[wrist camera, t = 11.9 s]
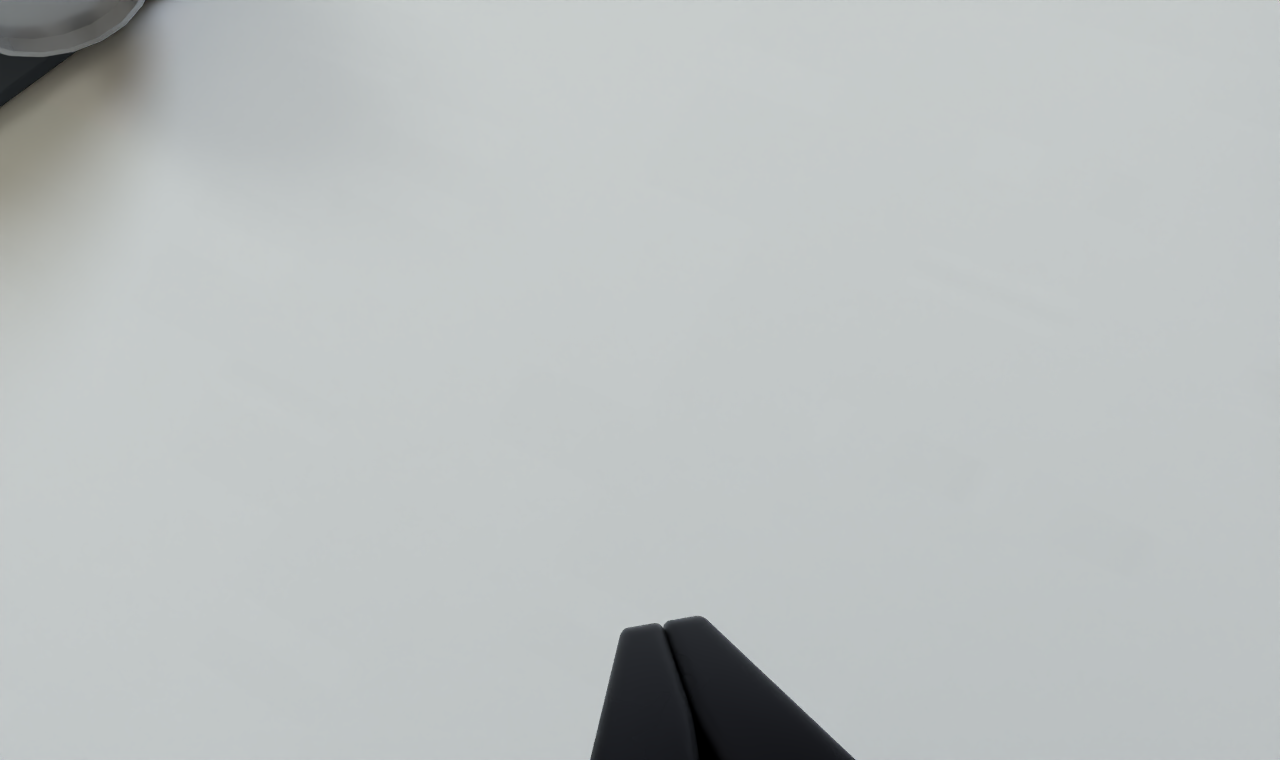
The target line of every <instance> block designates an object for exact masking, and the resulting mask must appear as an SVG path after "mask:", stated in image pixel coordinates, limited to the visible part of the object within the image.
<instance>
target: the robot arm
mask: <svg viewBox="0 0 1280 760" xmlns="http://www.w3.org/2000/svg"><path fill="white" fill-rule="evenodd" d="M590 760H855V759H854V758H853V757H852V756H851V755H850V754H849V753H848V752H847V751H846V750H844V749H843V748H842V747H841V746H840V745H839V744H838V743H837V742H836V741H835V740H834V739H833V738H832V737H831V736H830V735H829V734H828V733H826V732H825V731H824V730H823V729H822V728H821V727H820V726H819V725H818V724H817V723H816V722H815V721H814V720H813V719H812V718H811V717H809V716H808V715H807V714H806V713H805V712H804V711H803V710H802V709H801V708H800V707H799V706H798V705H797V704H796V703H795V702H794V701H793V700H791V699H790V698H789V697H788V696H787V695H786V694H785V693H784V692H783V691H782V690H781V689H780V688H779V687H778V686H777V685H776V684H774V683H773V682H772V681H771V680H770V679H769V678H768V677H767V676H766V675H765V674H764V673H763V672H762V671H761V670H760V669H759V668H758V667H756V666H755V665H754V664H753V663H752V662H751V661H750V660H749V659H748V658H747V657H746V656H745V655H744V654H743V653H742V652H741V651H740V650H738V649H737V648H736V647H735V646H734V645H733V644H732V643H731V642H730V641H729V640H728V639H727V638H726V637H725V636H724V635H723V634H721V633H720V632H719V631H718V630H717V629H716V628H715V627H714V626H713V625H712V624H711V623H710V622H709V621H708V620H707V619H705V618H703V617H701V616H694V617H688V618H682V619H676V620H670V621H667V622H666V623H665V624H664V627H663V628H662V626H661V625H660V624H657V623H653V624H647V625H641V626H636V627H630V628H626V629H624V630H623V631H622V633H621V635H620V638H619V642H618V646H617V650H616V655H615V659H614V663H613V667H612V671H611V675H610V680H609V684H608V688H607V692H606V696H605V700H604V705H603V709H602V713H601V717H600V721H599V725H598V730H597V734H596V738H595V742H594V746H593V750H592V755H591V759H590Z"/></svg>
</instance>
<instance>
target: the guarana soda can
mask: <svg viewBox="0 0 1280 760" xmlns="http://www.w3.org/2000/svg"><path fill="white" fill-rule="evenodd" d="M144 1H145V0H0V53H1V54H5V55H9V56H25V57H46V56H52V55H58V54H64V53H70V52H75V51H77V50H80V49H82V48H85V47H88V46H90V45H93V44H95V43H98V42H100V41H103V40H104V39H106V38H107V37H109V36H110V35H112V34H113V33H115V32H116V31H118V30H119V29H120V28H122V27H123V26H125V25H126V24H127V23H128V22H129V21H130V20H131V18H132V17H133V16H134V15H135V14H136V13H137V11H138V10H139V9H140V8H141V7H142V6H143V4H144Z"/></svg>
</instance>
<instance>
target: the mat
mask: <svg viewBox="0 0 1280 760" xmlns="http://www.w3.org/2000/svg"><path fill="white" fill-rule="evenodd" d="M145 1H146V0H145ZM75 52H76V51H75ZM73 53H74V52H70V53H64V54H58V55H52V56H46V57H25V56H9V55H5V54H1V53H0V106H2V105H3V104H4V103H6V102H7V101H9V100H10V99H11V98H13V97H14V96H15V95H17V94H18V93H20V92H21V91H22V90H24V89H25V88H26V87H28V86H29V85H31V84H32V83H33V82H35V81H36V80H37V79H39V78H40V77H41V76H43V75H44V74H46V73H47V72H48V71H50V70H51V69H52V68H54V67H55V66H57V65H58V64H59V63H61V62H62V61H63V60H65V59H66V58H67V57H69V56H70V55H72V54H73Z"/></svg>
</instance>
